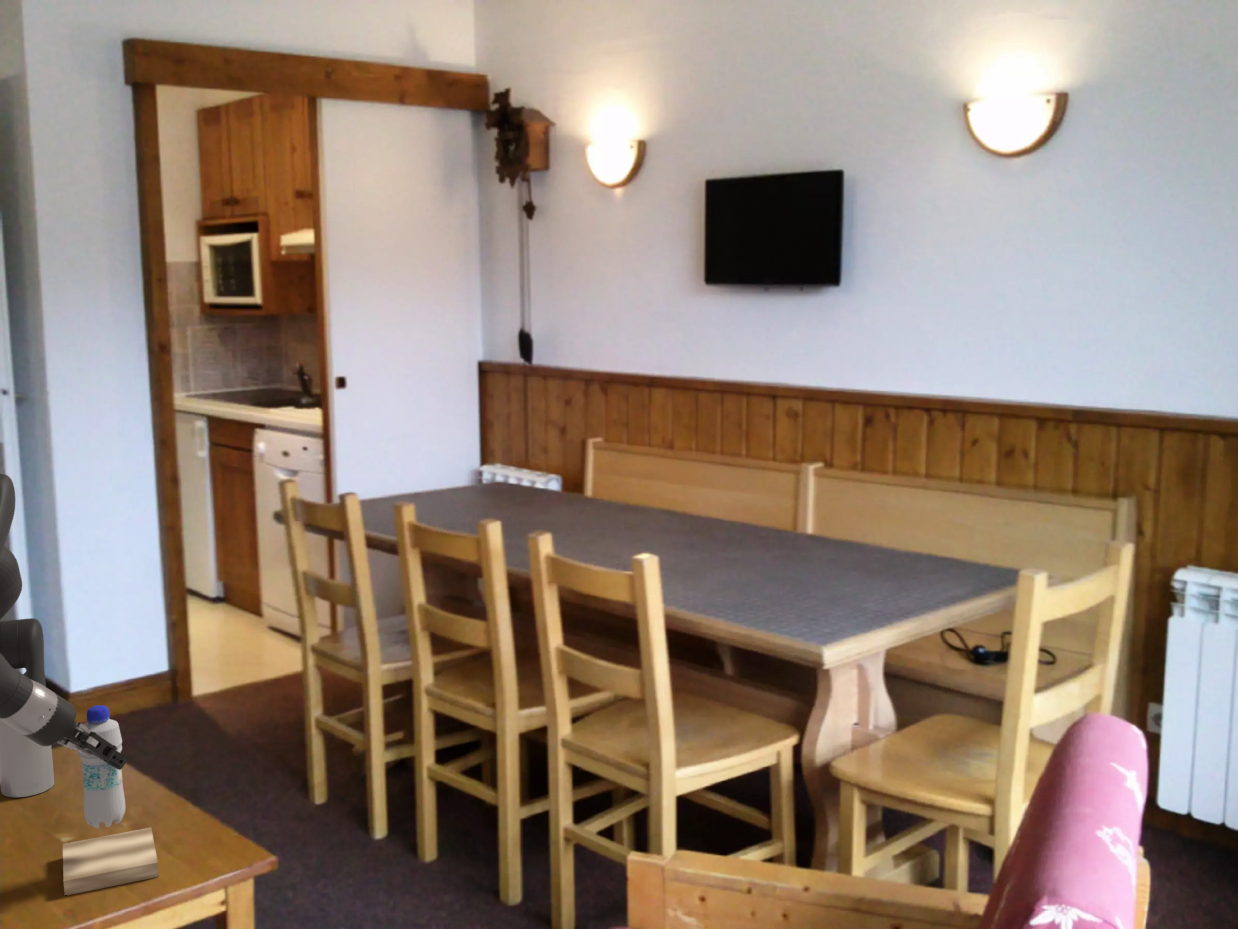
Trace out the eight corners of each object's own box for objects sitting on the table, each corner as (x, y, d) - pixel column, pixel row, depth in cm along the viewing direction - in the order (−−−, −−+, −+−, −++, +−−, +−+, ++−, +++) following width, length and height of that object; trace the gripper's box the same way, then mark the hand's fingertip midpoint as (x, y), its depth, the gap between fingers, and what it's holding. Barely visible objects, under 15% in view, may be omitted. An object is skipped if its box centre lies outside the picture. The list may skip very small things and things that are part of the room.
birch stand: (63, 857, 203) (62, 844, 203) (152, 841, 209) (151, 827, 208) (64, 896, 191) (63, 881, 190) (158, 876, 196) (157, 862, 196)
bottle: (131, 825, 197) (123, 708, 194) (87, 835, 194) (78, 716, 191) (123, 810, 203) (115, 696, 200) (80, 819, 199) (72, 704, 196)
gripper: (76, 699, 184) (149, 748, 196) (26, 682, 193) (99, 730, 204) (46, 743, 181) (122, 790, 192) (-4, 724, 189) (72, 770, 200)
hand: (110, 759), depth 198 cm, fingers closed on bottle, 6 cm apart
